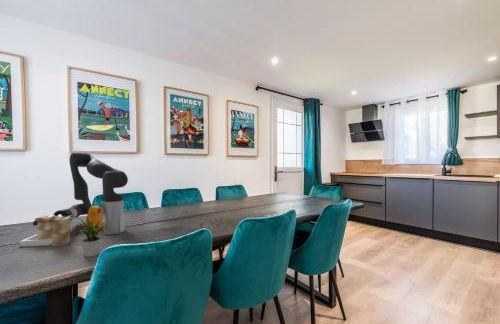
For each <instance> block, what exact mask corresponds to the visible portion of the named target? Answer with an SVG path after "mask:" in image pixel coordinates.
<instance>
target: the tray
mask: <svg viewBox="0 0 500 324" xmlns="http://www.w3.org/2000/svg"><path fill="white" fill-rule="evenodd" d="M39 246H53V239H42V240H38V233H36V234H34V235H32V236H29V237H26V238H24V239H22V240H20V241H19V247H20V248H21V247H39Z"/></svg>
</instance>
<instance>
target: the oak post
mask: <svg viewBox="0 0 500 324" xmlns="http://www.w3.org/2000/svg"><path fill="white" fill-rule="evenodd" d="M70 222H71V221H70V217H59V218H57V219H54V220H53V245H52V247H65V246H66V245H68V244H70V243H71V223H70Z"/></svg>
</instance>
